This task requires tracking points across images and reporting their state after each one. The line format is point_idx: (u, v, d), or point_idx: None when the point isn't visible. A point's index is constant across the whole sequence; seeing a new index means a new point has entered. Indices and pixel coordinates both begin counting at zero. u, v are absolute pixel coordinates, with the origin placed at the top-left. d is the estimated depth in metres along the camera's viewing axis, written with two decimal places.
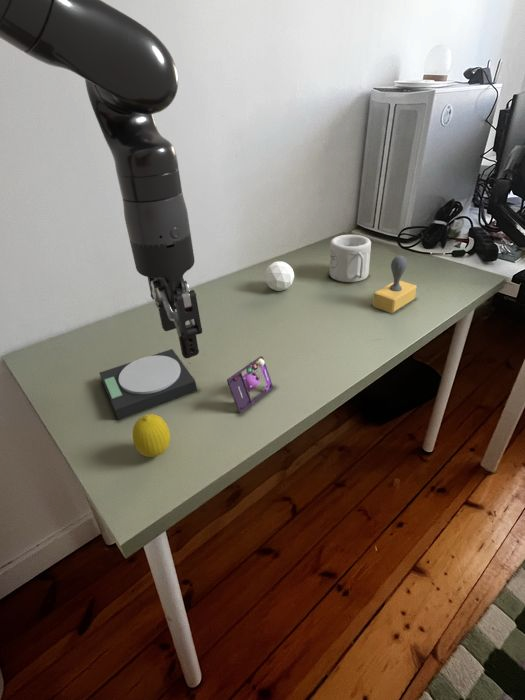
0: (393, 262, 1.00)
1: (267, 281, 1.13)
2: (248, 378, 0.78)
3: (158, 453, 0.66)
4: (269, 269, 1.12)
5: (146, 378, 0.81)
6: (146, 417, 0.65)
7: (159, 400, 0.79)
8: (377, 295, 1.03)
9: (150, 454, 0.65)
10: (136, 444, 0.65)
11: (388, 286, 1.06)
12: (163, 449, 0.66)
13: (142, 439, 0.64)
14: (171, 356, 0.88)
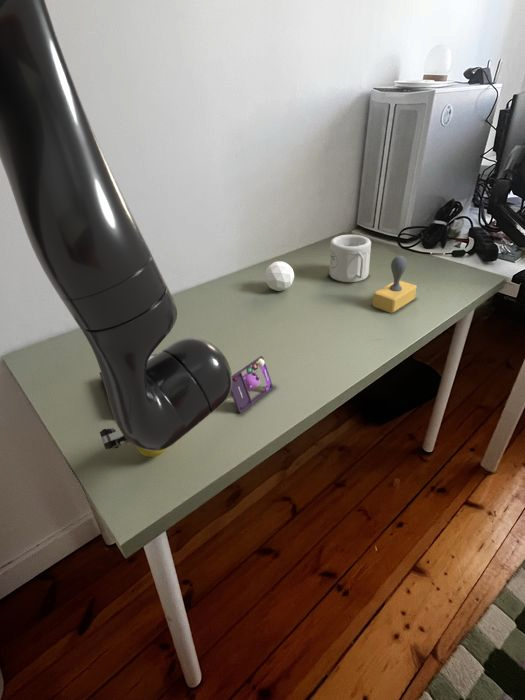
0: (393, 262, 1.00)
1: (267, 281, 1.13)
2: (248, 378, 0.78)
3: (158, 453, 0.66)
4: (269, 269, 1.12)
5: None
6: None
7: None
8: (377, 295, 1.03)
9: (150, 453, 0.65)
10: None
11: (388, 286, 1.06)
12: None
13: None
14: None
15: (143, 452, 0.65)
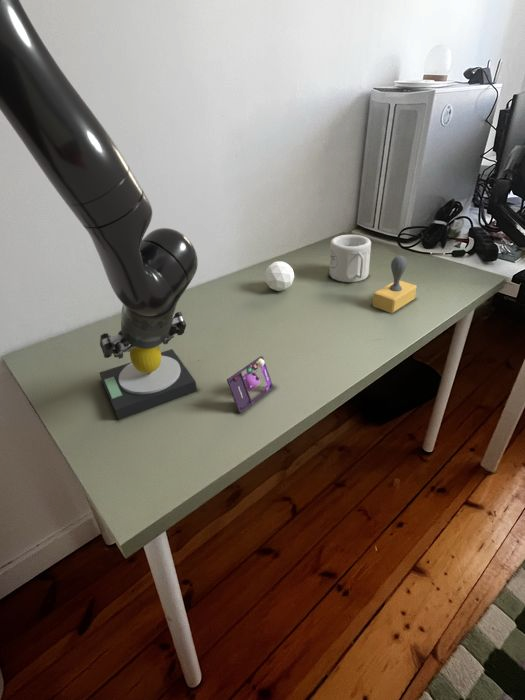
0: (393, 262, 1.00)
1: (267, 281, 1.13)
2: (248, 378, 0.78)
3: (151, 369, 0.79)
4: (269, 269, 1.12)
5: (146, 378, 0.81)
6: None
7: (159, 400, 0.79)
8: (377, 295, 1.03)
9: (144, 369, 0.79)
10: (133, 360, 0.78)
11: (388, 286, 1.06)
12: (155, 365, 0.79)
13: (137, 354, 0.77)
14: (171, 356, 0.88)
15: (138, 367, 0.79)
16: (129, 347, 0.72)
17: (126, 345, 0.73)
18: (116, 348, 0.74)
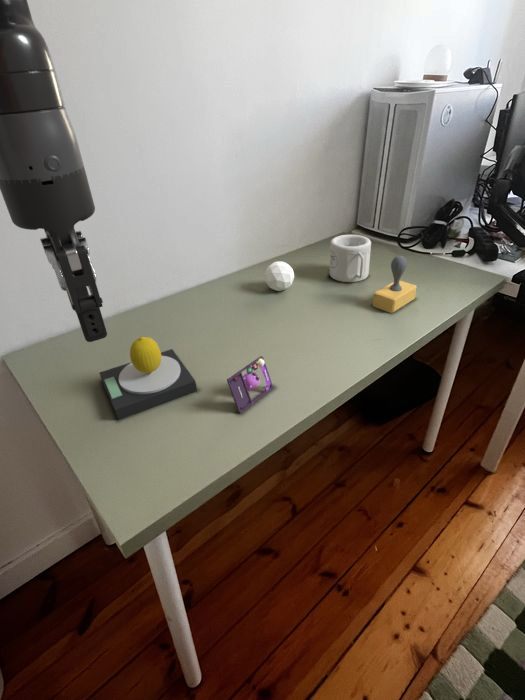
0: (393, 262, 1.00)
1: (267, 281, 1.13)
2: (248, 378, 0.78)
3: (151, 369, 0.79)
4: (269, 269, 1.12)
5: (146, 378, 0.81)
6: (141, 337, 0.78)
7: (159, 400, 0.79)
8: (377, 295, 1.03)
9: (144, 369, 0.79)
10: (133, 360, 0.78)
11: (388, 286, 1.06)
12: (155, 365, 0.79)
13: (137, 354, 0.77)
14: (171, 356, 0.88)
15: (138, 367, 0.79)
16: (88, 262, 0.42)
17: None
18: (87, 296, 0.42)
